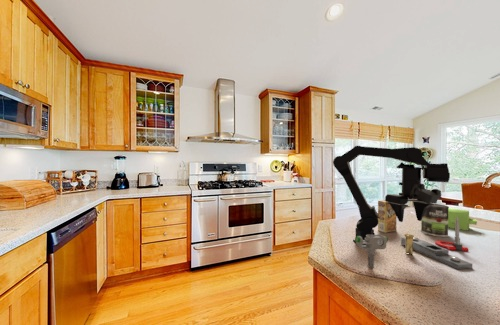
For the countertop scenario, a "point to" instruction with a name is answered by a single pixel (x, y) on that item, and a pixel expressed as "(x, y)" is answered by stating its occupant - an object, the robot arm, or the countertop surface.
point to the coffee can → (435, 221)
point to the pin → (409, 243)
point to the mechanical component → (371, 245)
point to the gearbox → (460, 218)
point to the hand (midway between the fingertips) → (410, 221)
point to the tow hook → (456, 245)
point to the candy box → (386, 217)
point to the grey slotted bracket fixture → (438, 253)
